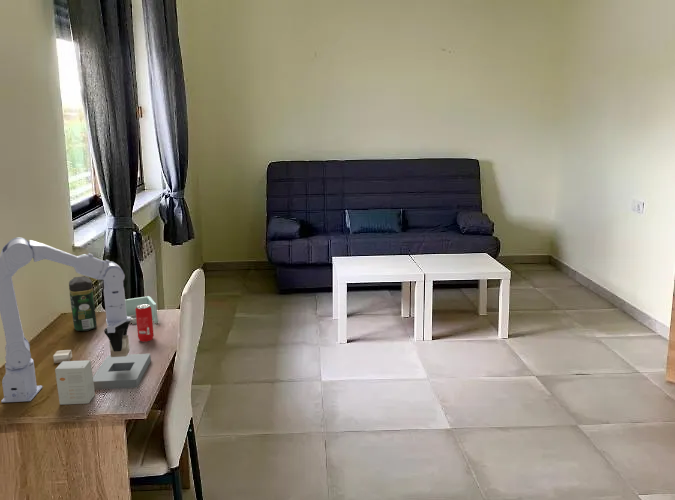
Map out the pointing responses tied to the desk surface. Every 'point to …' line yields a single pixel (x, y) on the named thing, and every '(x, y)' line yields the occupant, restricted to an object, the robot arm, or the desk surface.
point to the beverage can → (144, 322)
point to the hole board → (121, 371)
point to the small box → (75, 382)
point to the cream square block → (124, 350)
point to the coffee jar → (82, 303)
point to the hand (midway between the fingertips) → (119, 347)
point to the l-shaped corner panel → (135, 302)
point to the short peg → (62, 356)
